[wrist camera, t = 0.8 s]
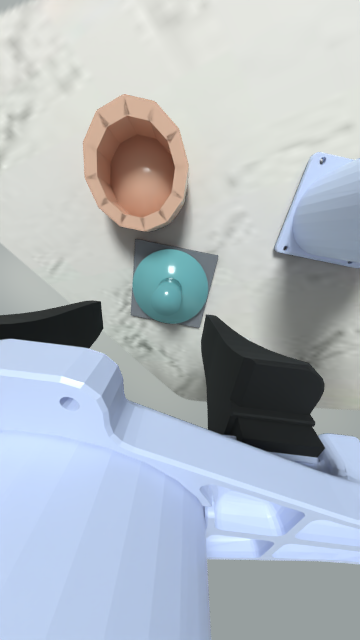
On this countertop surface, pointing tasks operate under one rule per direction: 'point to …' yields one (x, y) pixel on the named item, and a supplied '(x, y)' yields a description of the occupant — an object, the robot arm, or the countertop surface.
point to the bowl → (136, 163)
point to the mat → (204, 259)
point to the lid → (170, 286)
